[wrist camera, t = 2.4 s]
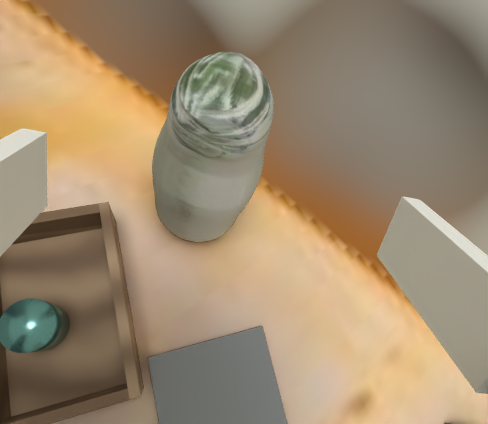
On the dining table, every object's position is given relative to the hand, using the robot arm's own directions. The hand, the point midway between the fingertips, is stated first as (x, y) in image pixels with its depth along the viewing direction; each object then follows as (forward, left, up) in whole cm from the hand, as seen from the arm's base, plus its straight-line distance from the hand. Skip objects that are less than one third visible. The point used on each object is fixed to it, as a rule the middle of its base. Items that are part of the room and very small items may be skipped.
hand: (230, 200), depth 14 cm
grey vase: (-10, +4, -35) cm, 37 cm away
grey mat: (+13, +2, -35) cm, 37 cm away
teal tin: (0, -15, -34) cm, 37 cm away
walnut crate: (-1, -13, -35) cm, 37 cm away
